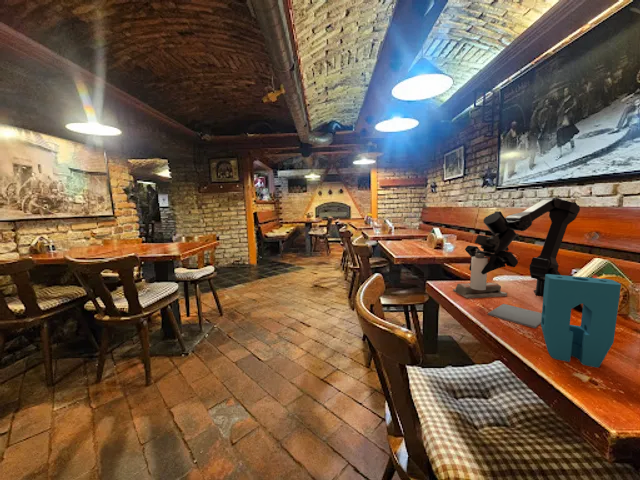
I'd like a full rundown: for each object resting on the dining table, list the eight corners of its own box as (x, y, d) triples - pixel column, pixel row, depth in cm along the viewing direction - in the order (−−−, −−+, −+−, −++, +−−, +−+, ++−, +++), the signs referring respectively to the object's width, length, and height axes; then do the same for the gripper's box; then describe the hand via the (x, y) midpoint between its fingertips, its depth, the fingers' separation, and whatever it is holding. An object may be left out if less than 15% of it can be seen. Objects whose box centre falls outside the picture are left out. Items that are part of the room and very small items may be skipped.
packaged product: (467, 288, 103) (452, 281, 113) (467, 299, 104) (452, 291, 113) (508, 285, 105) (490, 279, 114) (507, 297, 105) (489, 289, 115)
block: (601, 359, 61) (611, 279, 59) (611, 370, 57) (623, 285, 54) (537, 346, 67) (544, 273, 65) (542, 356, 63) (550, 278, 60)
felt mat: (503, 305, 96) (503, 303, 96) (548, 316, 85) (548, 314, 85) (487, 314, 88) (487, 313, 87) (535, 328, 77) (535, 326, 77)
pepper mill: (470, 285, 101) (472, 252, 99) (486, 287, 98) (488, 253, 96) (469, 288, 96) (471, 254, 95) (485, 291, 94) (487, 255, 92)
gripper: (469, 226, 104) (446, 254, 103) (513, 229, 86) (485, 263, 85) (484, 243, 107) (461, 271, 106) (529, 250, 89) (503, 283, 88)
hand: (475, 271), depth 96 cm, fingers closed on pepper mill, 5 cm apart
